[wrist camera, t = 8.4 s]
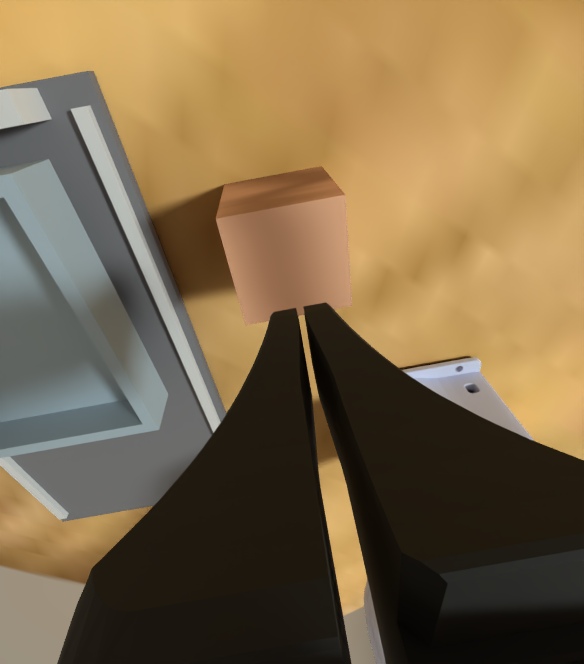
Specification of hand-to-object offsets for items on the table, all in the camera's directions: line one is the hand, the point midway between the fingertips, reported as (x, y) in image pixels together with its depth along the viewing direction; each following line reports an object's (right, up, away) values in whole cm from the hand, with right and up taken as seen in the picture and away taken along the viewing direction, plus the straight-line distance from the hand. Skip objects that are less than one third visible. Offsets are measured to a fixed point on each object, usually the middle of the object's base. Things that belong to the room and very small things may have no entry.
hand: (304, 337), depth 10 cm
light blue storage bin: (-14, +1, +8) cm, 16 cm away
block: (-1, +5, +8) cm, 10 cm away
